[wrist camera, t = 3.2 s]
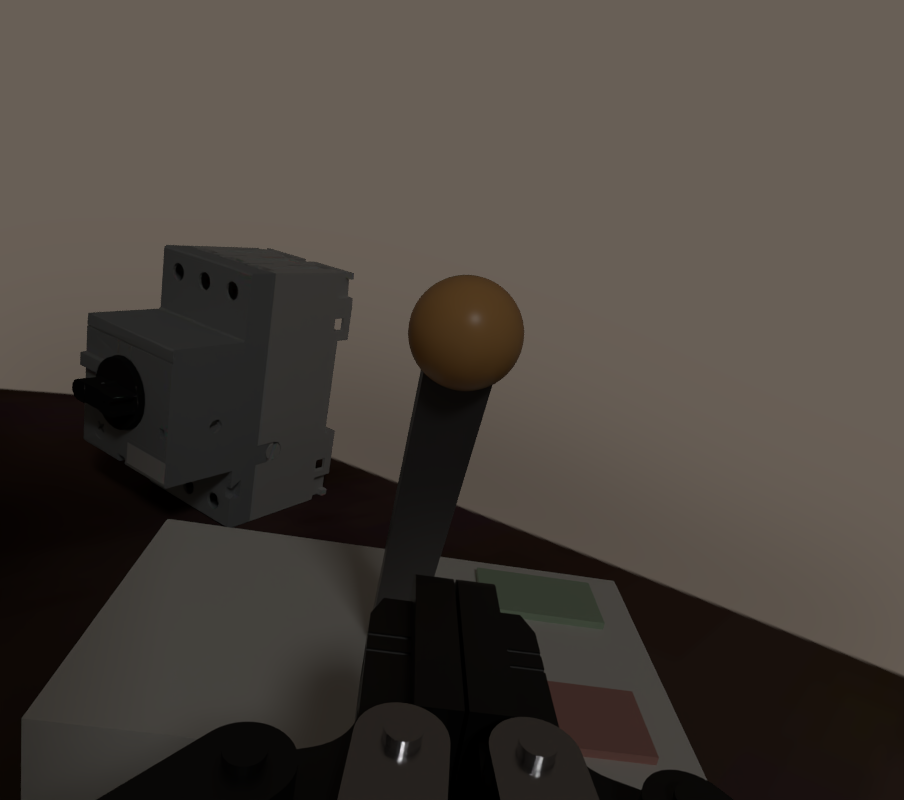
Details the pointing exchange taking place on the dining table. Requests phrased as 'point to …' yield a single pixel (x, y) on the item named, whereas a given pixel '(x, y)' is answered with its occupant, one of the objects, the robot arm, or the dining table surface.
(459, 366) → the breaker lever
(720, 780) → the dining table surface
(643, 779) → the box
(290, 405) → the circuit breaker
